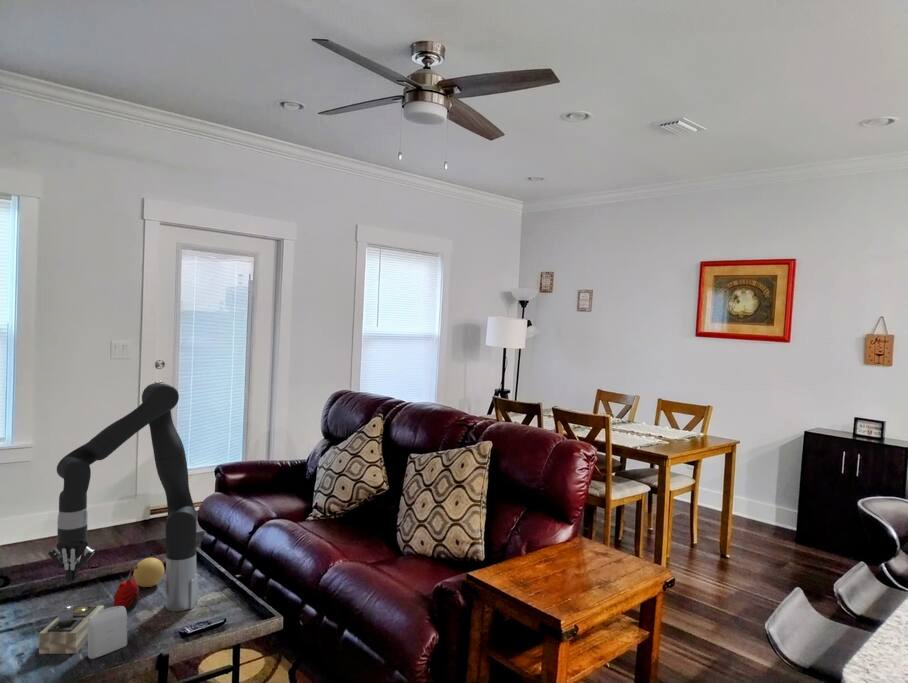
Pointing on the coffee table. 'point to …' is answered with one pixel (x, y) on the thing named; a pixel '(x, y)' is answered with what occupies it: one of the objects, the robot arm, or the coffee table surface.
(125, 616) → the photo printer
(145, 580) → the stress ball
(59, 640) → the birch block
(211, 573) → the coffee table surface
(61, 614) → the peg steel
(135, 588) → the red clay folk toy
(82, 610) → the peg brass
